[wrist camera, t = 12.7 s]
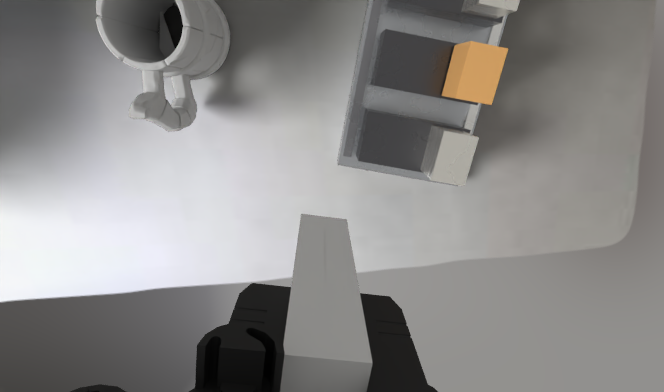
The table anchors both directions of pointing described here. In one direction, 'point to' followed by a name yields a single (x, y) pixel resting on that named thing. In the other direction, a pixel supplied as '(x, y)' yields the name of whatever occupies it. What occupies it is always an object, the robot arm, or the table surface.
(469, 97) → the toggle
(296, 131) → the table surface
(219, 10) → the mug
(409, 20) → the breaker panel
